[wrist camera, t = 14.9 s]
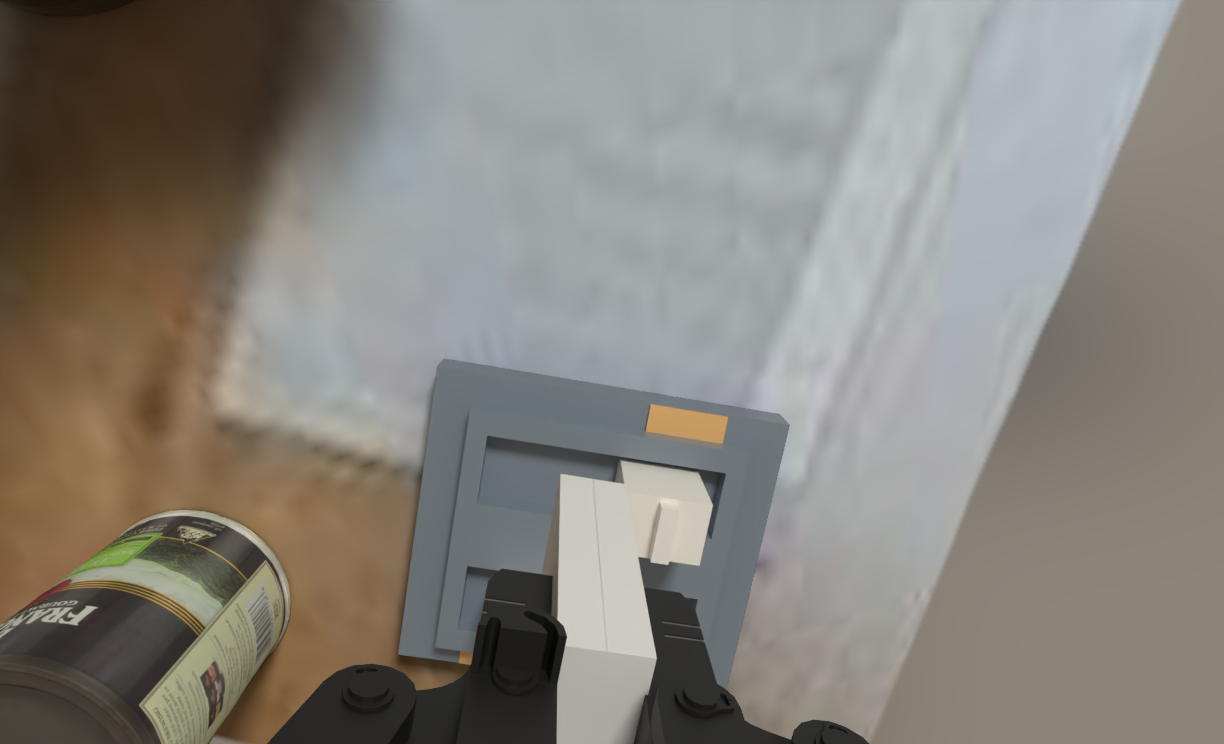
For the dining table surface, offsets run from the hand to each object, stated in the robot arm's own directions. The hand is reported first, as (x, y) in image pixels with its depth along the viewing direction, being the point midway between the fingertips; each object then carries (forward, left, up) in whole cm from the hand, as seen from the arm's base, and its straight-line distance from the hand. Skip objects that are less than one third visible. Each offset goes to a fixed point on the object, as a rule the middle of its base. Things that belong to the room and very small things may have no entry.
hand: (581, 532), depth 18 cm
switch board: (+2, -10, -23) cm, 25 cm away
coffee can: (-18, -17, -23) cm, 34 cm away
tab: (+5, -6, -21) cm, 22 cm away
